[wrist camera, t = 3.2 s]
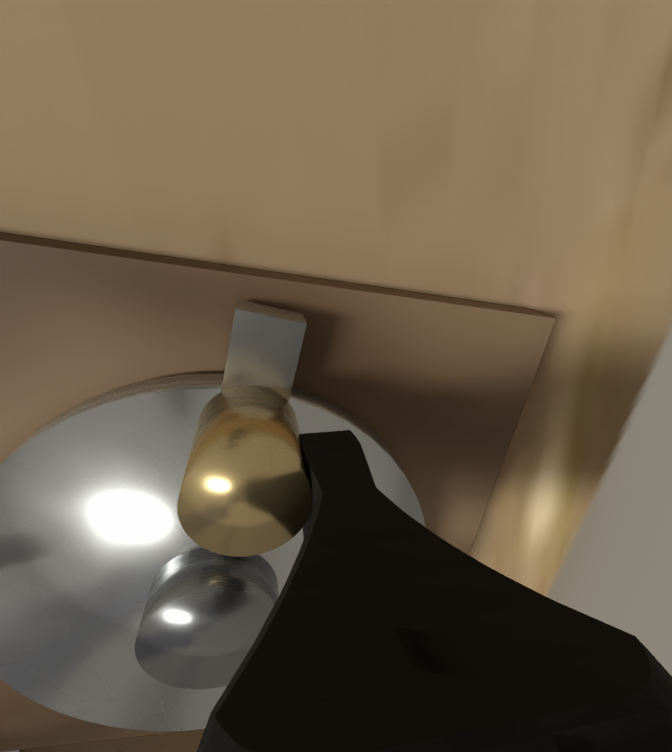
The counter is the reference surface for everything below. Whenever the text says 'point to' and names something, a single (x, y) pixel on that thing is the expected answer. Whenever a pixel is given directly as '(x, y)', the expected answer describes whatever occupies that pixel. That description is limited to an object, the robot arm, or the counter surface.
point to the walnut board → (313, 374)
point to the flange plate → (164, 531)
